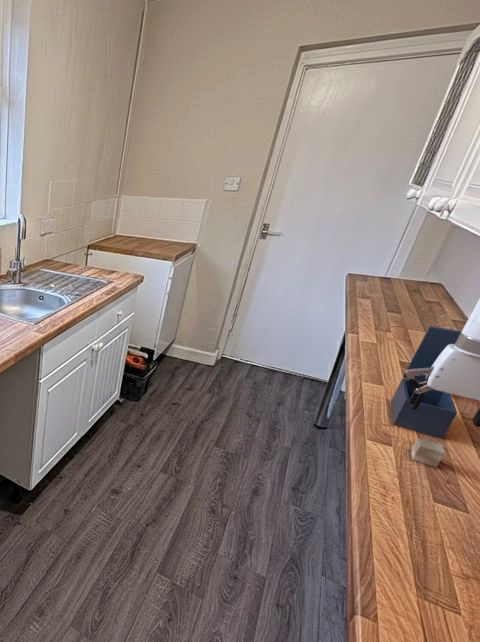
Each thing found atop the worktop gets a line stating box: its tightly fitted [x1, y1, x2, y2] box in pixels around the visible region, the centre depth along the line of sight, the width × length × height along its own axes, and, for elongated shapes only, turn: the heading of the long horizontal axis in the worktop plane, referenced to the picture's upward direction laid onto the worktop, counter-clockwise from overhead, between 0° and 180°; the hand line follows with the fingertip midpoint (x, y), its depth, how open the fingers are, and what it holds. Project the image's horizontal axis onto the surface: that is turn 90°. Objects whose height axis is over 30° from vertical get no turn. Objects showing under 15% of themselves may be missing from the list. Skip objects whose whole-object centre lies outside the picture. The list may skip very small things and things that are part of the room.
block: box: [410, 437, 446, 468], centre depth 95 cm, size 4×4×4 cm
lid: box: [402, 325, 462, 382], centre depth 109 cm, size 16×9×1 cm
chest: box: [390, 377, 458, 439], centre depth 109 cm, size 15×9×8 cm, turn 138°
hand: (443, 415), depth 92 cm, fingers open, 9 cm apart
